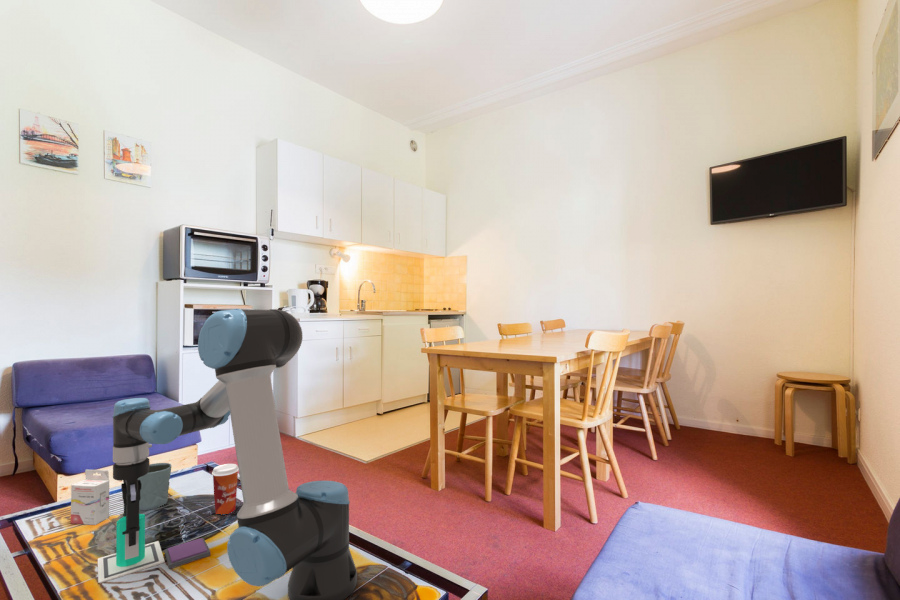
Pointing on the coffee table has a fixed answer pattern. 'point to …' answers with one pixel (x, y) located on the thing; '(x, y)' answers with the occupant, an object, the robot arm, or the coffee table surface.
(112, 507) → the coffee table surface
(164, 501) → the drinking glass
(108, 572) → the marked card
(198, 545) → the ink pad
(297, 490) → the robot arm
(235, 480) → the paper cup
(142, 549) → the candle
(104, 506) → the ink cartridge box
